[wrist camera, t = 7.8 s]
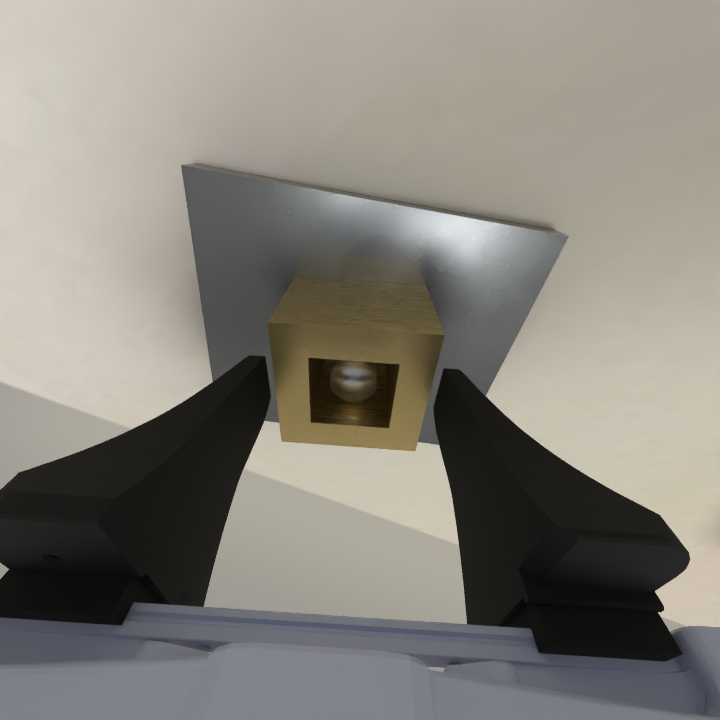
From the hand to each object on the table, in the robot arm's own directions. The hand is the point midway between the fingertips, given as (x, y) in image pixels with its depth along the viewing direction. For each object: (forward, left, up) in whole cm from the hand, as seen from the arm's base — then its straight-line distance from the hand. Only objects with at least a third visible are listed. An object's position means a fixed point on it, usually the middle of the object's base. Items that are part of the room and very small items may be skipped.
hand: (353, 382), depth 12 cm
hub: (0, 0, -3) cm, 3 cm away
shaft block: (0, 0, -4) cm, 4 cm away
